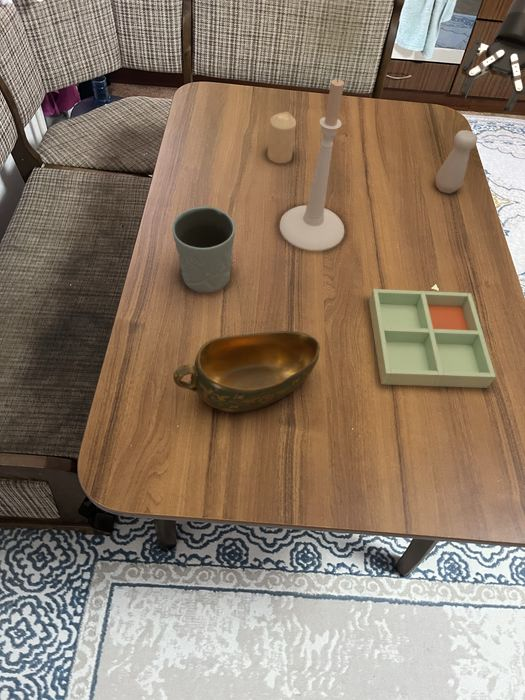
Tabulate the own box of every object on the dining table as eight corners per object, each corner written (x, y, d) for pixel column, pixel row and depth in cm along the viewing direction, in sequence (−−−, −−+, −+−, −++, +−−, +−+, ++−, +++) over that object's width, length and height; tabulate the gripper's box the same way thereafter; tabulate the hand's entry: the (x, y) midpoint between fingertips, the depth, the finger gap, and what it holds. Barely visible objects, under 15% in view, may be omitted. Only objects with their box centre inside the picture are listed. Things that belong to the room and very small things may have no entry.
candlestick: (334, 259, 101) (370, 110, 76) (270, 241, 103) (285, 90, 78) (350, 217, 108) (387, 68, 84) (290, 201, 110) (309, 51, 85)
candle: (277, 146, 120) (281, 104, 112) (296, 156, 119) (302, 114, 110) (262, 157, 118) (265, 114, 110) (281, 167, 116) (286, 125, 108)
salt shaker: (457, 181, 117) (481, 127, 106) (460, 198, 114) (485, 144, 103) (431, 178, 117) (451, 124, 106) (433, 195, 114) (455, 141, 103)
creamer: (194, 345, 88) (190, 305, 79) (314, 364, 87) (323, 326, 79) (175, 413, 80) (169, 377, 72) (306, 434, 79) (316, 401, 71)
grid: (463, 306, 96) (471, 292, 93) (486, 388, 86) (496, 377, 83) (368, 302, 95) (373, 288, 92) (380, 385, 85) (386, 373, 82)
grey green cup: (240, 264, 99) (242, 213, 89) (223, 304, 93) (223, 254, 83) (189, 251, 100) (185, 200, 90) (169, 290, 94) (162, 239, 84)
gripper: (490, 0, 101) (450, 85, 104) (566, 22, 97) (521, 110, 101) (487, 20, 108) (449, 99, 111) (557, 41, 104) (516, 122, 108)
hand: (484, 104), depth 106 cm, fingers open, 8 cm apart
